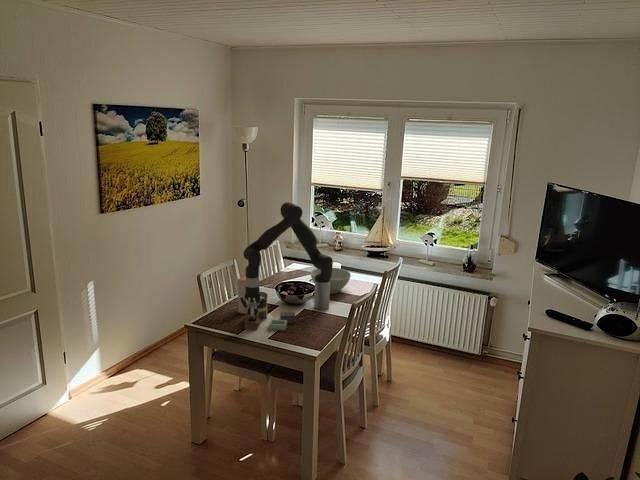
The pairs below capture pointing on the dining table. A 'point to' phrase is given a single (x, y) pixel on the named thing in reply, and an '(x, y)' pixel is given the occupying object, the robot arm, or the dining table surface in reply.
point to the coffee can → (262, 307)
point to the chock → (288, 316)
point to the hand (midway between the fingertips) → (252, 314)
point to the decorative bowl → (334, 278)
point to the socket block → (252, 323)
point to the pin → (252, 313)
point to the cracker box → (241, 293)
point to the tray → (278, 325)
